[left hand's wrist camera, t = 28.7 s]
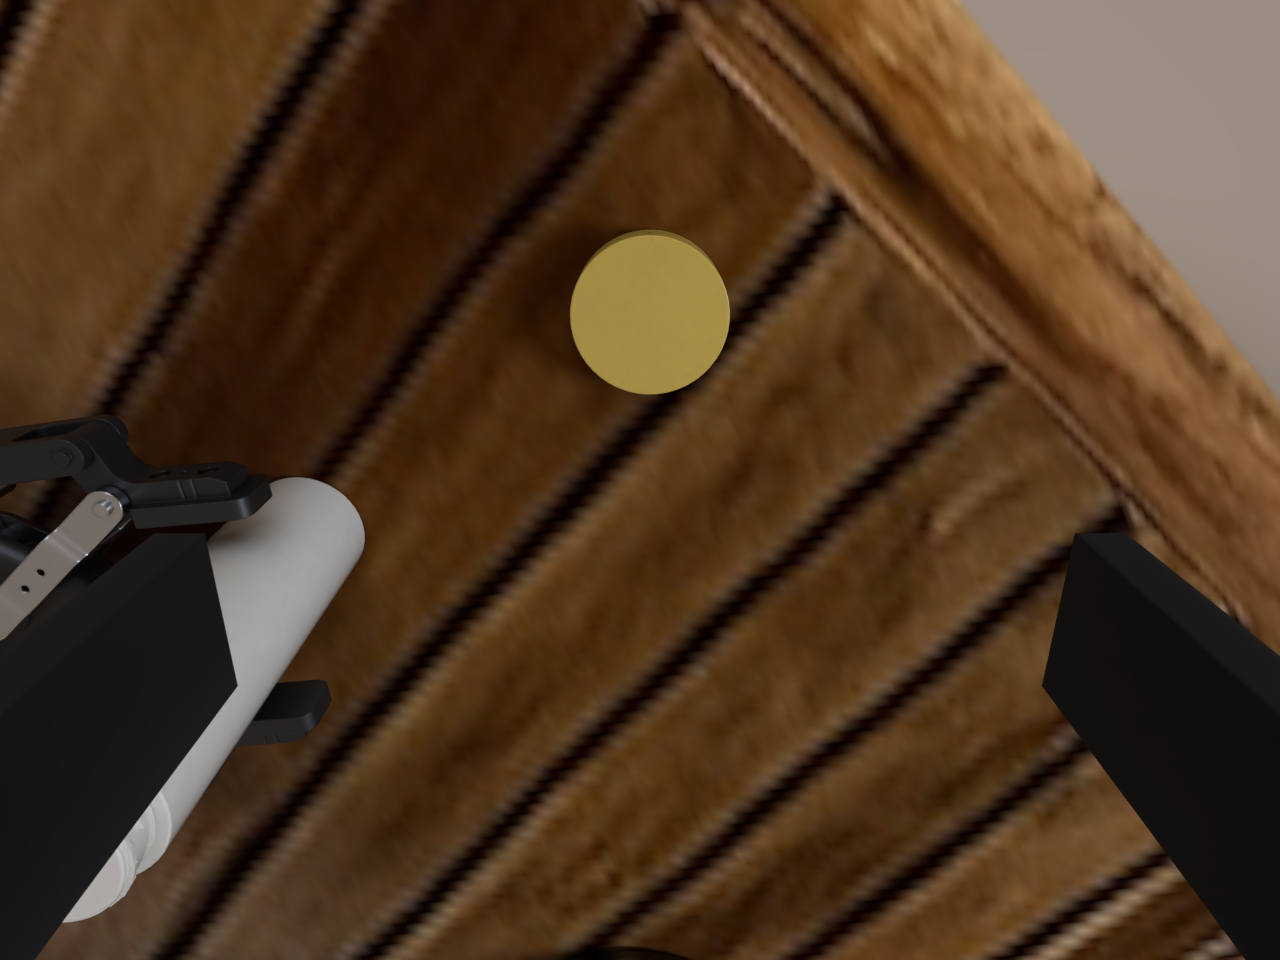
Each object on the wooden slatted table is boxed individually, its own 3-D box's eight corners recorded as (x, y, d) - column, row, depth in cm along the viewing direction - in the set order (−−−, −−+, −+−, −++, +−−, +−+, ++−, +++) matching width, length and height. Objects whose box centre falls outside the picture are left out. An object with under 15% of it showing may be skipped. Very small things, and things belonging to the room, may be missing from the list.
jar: (333, 600, 36) (95, 961, 20) (228, 543, 35) (-107, 879, 19) (385, 516, 34) (169, 838, 19) (277, 454, 33) (-46, 742, 18)
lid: (685, 404, 32) (687, 418, 31) (550, 345, 32) (545, 357, 30) (752, 269, 30) (757, 276, 29) (609, 202, 30) (607, 206, 28)
